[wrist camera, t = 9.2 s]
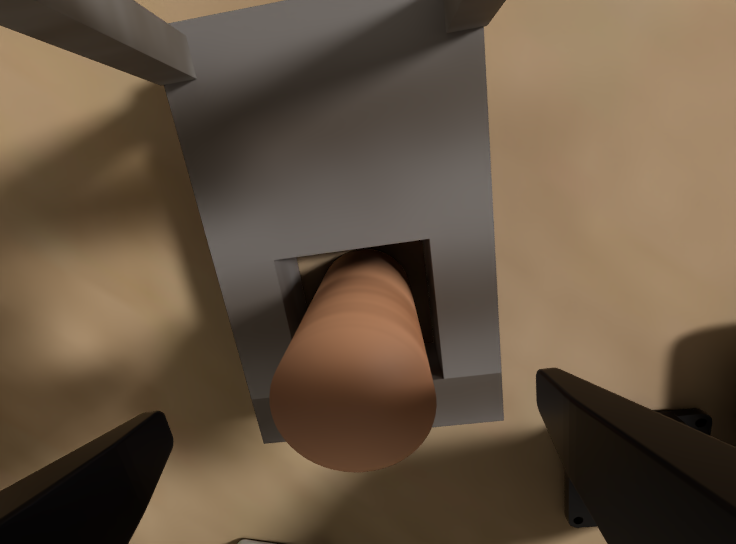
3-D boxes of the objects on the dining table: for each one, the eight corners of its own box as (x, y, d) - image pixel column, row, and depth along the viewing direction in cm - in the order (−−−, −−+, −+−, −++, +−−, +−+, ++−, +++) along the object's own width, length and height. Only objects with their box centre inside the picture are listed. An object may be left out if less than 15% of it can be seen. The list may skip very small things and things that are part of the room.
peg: (414, 326, 17) (443, 464, 9) (330, 336, 17) (288, 478, 9) (404, 243, 15) (428, 319, 8) (315, 255, 16) (251, 340, 8)
